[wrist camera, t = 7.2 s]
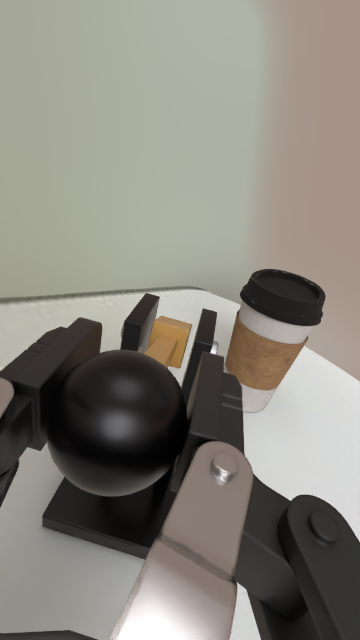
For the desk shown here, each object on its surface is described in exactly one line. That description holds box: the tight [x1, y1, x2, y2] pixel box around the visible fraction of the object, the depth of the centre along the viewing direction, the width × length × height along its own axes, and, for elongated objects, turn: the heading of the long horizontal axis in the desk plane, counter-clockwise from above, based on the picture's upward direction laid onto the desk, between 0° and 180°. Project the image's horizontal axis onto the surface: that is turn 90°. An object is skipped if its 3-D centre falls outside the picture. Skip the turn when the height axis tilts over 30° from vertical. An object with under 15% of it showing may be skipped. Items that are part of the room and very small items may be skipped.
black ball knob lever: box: [46, 316, 192, 496], centre depth 13 cm, size 14×4×4 cm, turn 170°
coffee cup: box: [224, 269, 325, 412], centre depth 33 cm, size 8×8×15 cm
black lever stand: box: [42, 293, 218, 559], centre depth 21 cm, size 12×10×15 cm
